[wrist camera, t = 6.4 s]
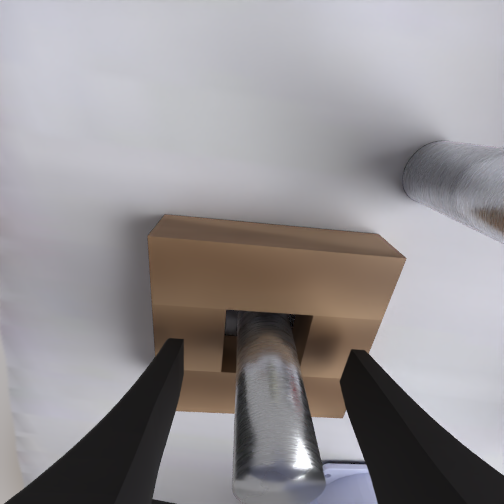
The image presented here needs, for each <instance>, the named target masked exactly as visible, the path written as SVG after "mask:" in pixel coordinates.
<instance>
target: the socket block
mask: <svg viewBox="0 0 504 504" xmlns="http://www.w3.org/2000/svg"><path fill="white" fill-rule="evenodd" d="M147 237H148V252H149V268H150V283H151V299H152V314H153V330H154V345H155V356H156V355H157V354H158V352H159V351H160V349H161V348H162V346H163V345H164V343H165V341H166V340H167V339H168V338H177V339H184V376H183V381H182V387H181V392H180V397H179V401H178V404H177V408H176V411H186V412H209V413H233V414H235V389H236V357H237V336H225V335H224V333H225V321H226V309H227V310H242V311H256V312H270V313H285V314H296V316H295V320H294V325H293V329H292V333H293V338H294V342H295V347H296V351H297V355H298V360H299V364H300V369H301V373H302V378H303V382H304V387H305V391H306V396H307V400H308V405H309V409H310V413H311V417H327V418H343V416H344V414H345V411H346V407H345V403H344V399H343V395H342V391H341V386H340V379H341V376H342V373H343V370H344V368H345V365H346V362H347V359H348V356H349V354H350V351H351V349H357V350H365V351H366V352H367V353H368V354H369V351H370V349H371V346H372V344H373V341H374V339H375V336H376V334H377V331H378V329H379V326H380V324H381V321H382V319H383V316H384V314H385V311H386V309H387V306H388V304H389V301H390V299H391V296H392V294H393V291H394V289H395V286H396V284H397V281H398V279H399V276H400V274H401V271H402V269H403V266H404V264H405V261H406V259H407V258H405V257H404V256H403V255H402V254H401V253H400V252H399V251H397V250H396V249H395V248H394V247H393V246H392V245H390V244H389V243H388V242H387V241H386V240H385V239H384V238H382V237H381V236H380V235H379V234H371V233H360V232H349V231H339V230H328V229H317V228H306V227H295V226H285V225H274V224H263V223H252V222H241V221H230V220H220V219H209V218H198V217H187V216H176V215H166V214H165V215H164V216H163V217H162V219H161V220H160V221H159V222H158V224H157V225H156V226H155V227H154V229H153V230H152V231H151V232H150V234H149V235H148V236H147Z"/></svg>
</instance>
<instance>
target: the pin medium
mask: <svg viewBox="0 0 504 504" xmlns="http://www.w3.org/2000/svg"><path fill="white" fill-rule="evenodd" d="M325 486H326V481H325V476H324V471H323V467H322V463H321V458H320V454H319V449H318V445H317V440H316V436H315V431H314V427H313V422H312V418H311V413H310V409H309V405H308V400H307V396H306V391H305V387H304V382H303V378H302V373H301V369H300V364H299V360H298V355H297V351H296V347H295V342H294V338H293V333H292V329H291V324H290V320H289V315H288V314H285V313H270V312H256V311H242V310H238V325H237V357H236V389H235V420H234V452H233V484H232V490H233V493H234V495H235V497H236V498H237V499H238V500H239V501H241V502H242V503H244V504H307V503H309V502H311V501H313V500H315V499H316V498H317V497H319V496H320V495H321V493H322V492H323V491H324V489H325Z"/></svg>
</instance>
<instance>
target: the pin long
mask: <svg viewBox="0 0 504 504" xmlns="http://www.w3.org/2000/svg"><path fill="white" fill-rule="evenodd" d="M403 187H404V190H405V192H406V194H407V195H408V196H409V197H410V198H411V199H413V200H415V201H417V202H419V203H421V204H423V205H425V206H427V207H429V208H431V209H433V210H435V211H437V212H439V213H441V214H443V215H445V216H447V217H450V218H452V219H454V220H456V221H458V222H460V223H462V224H464V225H466V226H468V227H470V228H472V229H474V230H476V231H478V232H480V233H482V234H484V235H486V236H489V237H491V238H493V239H495V240H497V241H499V242H501V243H503V244H504V148H501V147H492V146H484V145H475V144H467V143H458V142H450V141H436V142H432V143H430V144H428V145H425V146H424V147H422V148H421V149H419V150H418V151H417V152H416V153H415V154H414V155H413V156H412V157H411V159H410V160H409V162H408V163H407V165H406V167H405V170H404V173H403Z"/></svg>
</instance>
